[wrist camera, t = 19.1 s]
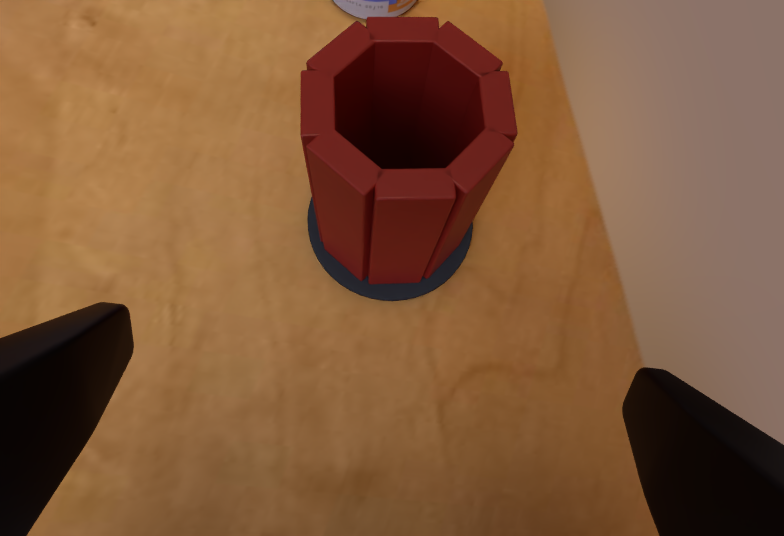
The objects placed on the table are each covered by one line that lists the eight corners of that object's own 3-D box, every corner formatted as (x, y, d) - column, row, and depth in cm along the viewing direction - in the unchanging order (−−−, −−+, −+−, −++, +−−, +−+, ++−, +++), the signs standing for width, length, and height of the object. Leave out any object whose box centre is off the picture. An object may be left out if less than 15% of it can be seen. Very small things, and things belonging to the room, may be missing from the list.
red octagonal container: (321, 286, 22) (300, 201, 14) (319, 156, 24) (300, 14, 16) (466, 281, 22) (528, 197, 14) (453, 154, 24) (501, 16, 16)
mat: (411, 334, 22) (411, 333, 21) (274, 237, 23) (272, 233, 22) (501, 207, 24) (503, 204, 24) (372, 123, 25) (372, 118, 24)
